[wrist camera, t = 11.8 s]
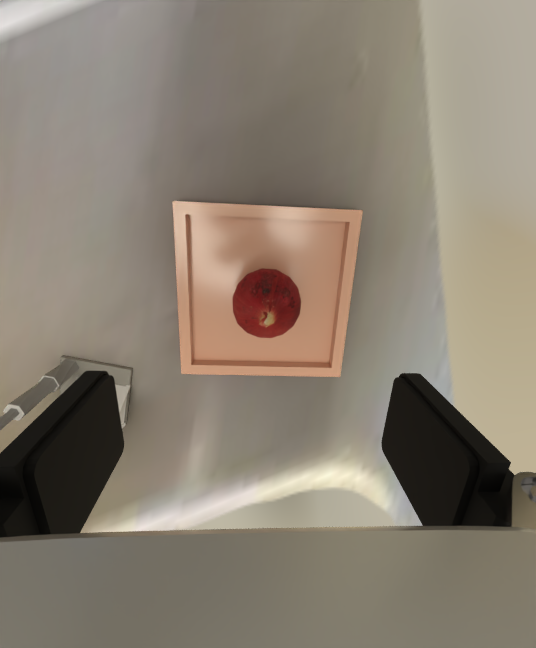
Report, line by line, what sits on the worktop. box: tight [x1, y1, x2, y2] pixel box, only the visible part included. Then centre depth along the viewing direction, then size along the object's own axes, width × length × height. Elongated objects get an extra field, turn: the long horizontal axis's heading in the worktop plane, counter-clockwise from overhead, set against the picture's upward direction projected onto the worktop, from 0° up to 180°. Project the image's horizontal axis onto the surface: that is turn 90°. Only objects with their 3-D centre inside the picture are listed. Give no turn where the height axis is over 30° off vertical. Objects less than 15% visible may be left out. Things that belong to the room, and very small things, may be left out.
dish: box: [173, 201, 363, 377], centre depth 29 cm, size 16×16×2 cm
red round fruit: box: [232, 268, 301, 338], centre depth 26 cm, size 6×6×8 cm
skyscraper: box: [0, 355, 133, 430], centre depth 20 cm, size 8×8×28 cm
